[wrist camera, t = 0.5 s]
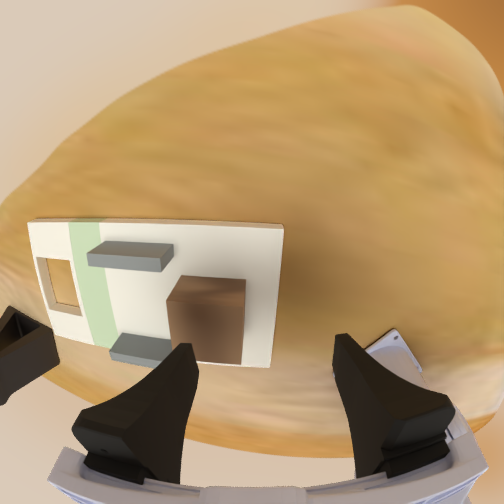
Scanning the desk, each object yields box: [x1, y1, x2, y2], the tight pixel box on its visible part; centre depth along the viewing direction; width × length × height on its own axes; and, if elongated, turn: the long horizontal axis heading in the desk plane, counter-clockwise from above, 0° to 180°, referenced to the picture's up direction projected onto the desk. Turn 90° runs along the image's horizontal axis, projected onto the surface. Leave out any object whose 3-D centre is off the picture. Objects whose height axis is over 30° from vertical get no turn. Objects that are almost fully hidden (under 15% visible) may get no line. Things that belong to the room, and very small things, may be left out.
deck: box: [28, 218, 284, 368], centre depth 21 cm, size 24×13×4 cm, turn 87°
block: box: [166, 275, 246, 365], centre depth 20 cm, size 5×5×4 cm
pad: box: [68, 218, 119, 349], centre depth 22 cm, size 4×13×2 cm, turn 177°
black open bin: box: [0, 306, 60, 406], centre depth 21 cm, size 9×6×12 cm, turn 75°
